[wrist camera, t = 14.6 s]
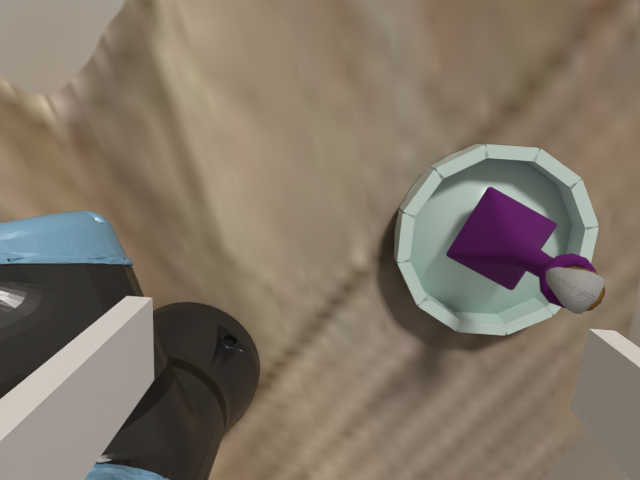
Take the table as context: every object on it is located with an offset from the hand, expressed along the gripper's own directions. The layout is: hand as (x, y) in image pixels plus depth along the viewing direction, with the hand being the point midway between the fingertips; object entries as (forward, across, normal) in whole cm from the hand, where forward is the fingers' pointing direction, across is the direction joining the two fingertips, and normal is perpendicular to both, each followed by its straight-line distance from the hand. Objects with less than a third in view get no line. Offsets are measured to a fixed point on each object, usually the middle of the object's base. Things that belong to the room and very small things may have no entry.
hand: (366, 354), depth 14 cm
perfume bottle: (+32, +15, -2) cm, 35 cm away
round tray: (+33, +15, -3) cm, 36 cm away
